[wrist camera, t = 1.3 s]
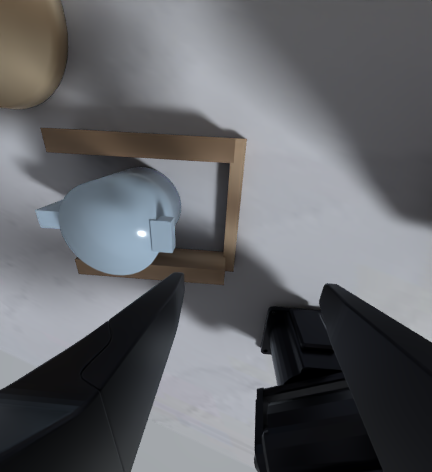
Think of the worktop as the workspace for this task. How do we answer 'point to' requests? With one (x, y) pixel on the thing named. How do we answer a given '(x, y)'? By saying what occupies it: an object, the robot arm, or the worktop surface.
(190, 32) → the worktop surface
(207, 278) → the cradle
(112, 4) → the worktop surface
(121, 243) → the jug
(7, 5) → the disc
